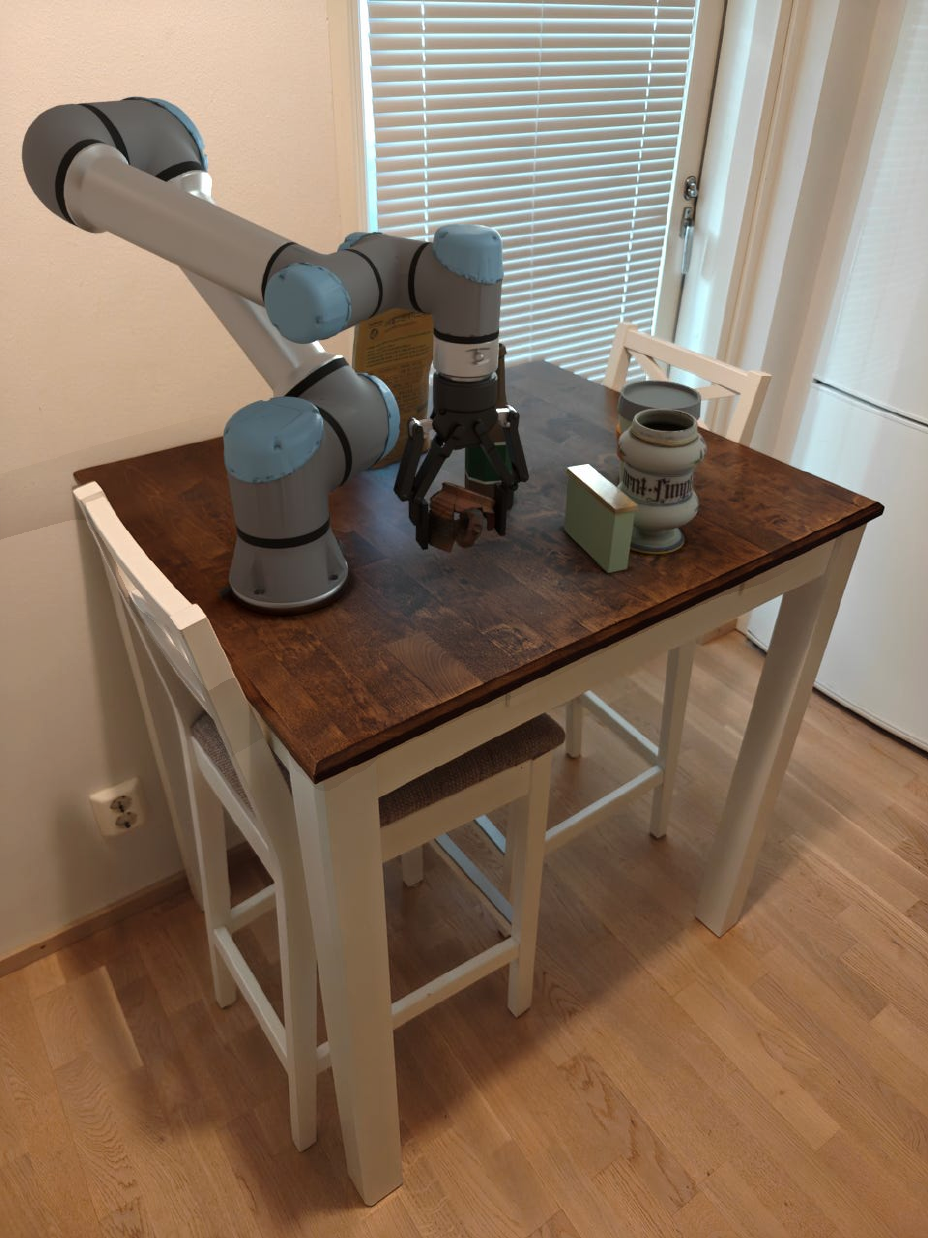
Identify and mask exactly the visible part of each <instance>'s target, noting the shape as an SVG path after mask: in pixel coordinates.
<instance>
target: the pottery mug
mask: <svg viewBox="0 0 928 1238" xmlns="http://www.w3.org/2000/svg"><path fill="white" fill-rule="evenodd" d="M441 486H442V487H441V489H439V490H437V491H436V492H435V493H434V494H433V495H432V496H430V498H429V503H428V507H429V509H428V545H429V546H431V547H433V548H435V549H437V550H441V551H442V552H446V553H449V554H451V553H452V552H453V547H454V545H455V542H456V544H457V545H458V546H459V547H461V548H462V549H467V548H471V547H473V546H475V544H476V542H477V540H478V539H479V538H480V536H481V534H482V532H483V530H484V526H485V520H486V530H487V532H493V531H494V526H495V524H494V523H495V516H494V514H495V512H494V511H493V507H494V504H495V503H496V501H494V500H493V499H491V498H489V497H487V496H485V495H482V494H480V493H477V492H474V491H471V490H469V489H466V488H465V486H464V487H463V486H460V485H458V484H455V483H452V482H448V481H443V482H441ZM455 514H458V518H457V519H455Z"/></svg>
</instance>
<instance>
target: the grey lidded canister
mask: <svg viewBox="0 0 928 1238" xmlns="http://www.w3.org/2000/svg"><path fill="white" fill-rule="evenodd" d="M701 405H702V395H701V394H700V392H699V391H697V390H696V389H695V388H693V387H690V386H688V385H686V384H682V383H679V382H674V381H668V380H659V379H658V380H657V379H655V380H654V379H648V380H647V379H646V380H638V381H633V382H630V383H627V384H625V385H624V386H622V388H621V389H620V393H619V397H618V401H617V405H616V411H617V413H618V423H617V424H616V428H615V429H616V430H615V431H616V432H615V434H616V435H615V437H616V439H615V440H616V442H615V443H616V455H617V458H618V460H619V461H618V462H619V465H618V466H619V484H620V483H621V482H622V480H623V473H624V464H625V460H624V459H623V458H622V456H621V455H620V453H619V450H618V441H619V438H620V436H621V435H622V434H623V432H624V431H625V430H627V429H628V428H630V427H631V425H632V423H633V419H634V417H635V415H636V414H638V413H639V412H642V411H644V410H648V409H673V410H679V411H683V412H686V413H688V414H690V415H692V416H693V417H695V418H696V420H697V421H699V420H700V417H701V409H702V408H701V407H702V406H701Z"/></svg>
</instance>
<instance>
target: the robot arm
mask: <svg viewBox="0 0 928 1238" xmlns="http://www.w3.org/2000/svg"><path fill="white" fill-rule="evenodd" d="M205 147H206V145H205V142H204V139H203V136H202V135H201V133H200V131H199V129H198V128H197V126H196V124H195V123H194V122H193V120H192V119H191V118H190V116H188V115H187V114H186V113H185V112H184V111H183V110H182V109H181V108H180V107H179V106H177V105H175V104H173V103H171V102H169V101H168V100H164V99H161V98H156V97H145V96H127V97H125V98H122V99H119V100H107V101H94V102H81V103H80V102H79V103H67V104H57V105H55V106H53V107H50V108H48V109H46V110H45V111H43V112H41V113H40V114H39V115H37V117H36V118H34V120H32V122H31V123H30V125H29V126H28V128H27V129H26V132H25V134H24V137H23V141H22V146H21V161H22V167H23V168H22V169H23V172H24V175H25V179H26V181H27V183H28V185H29V187H30V189H31V190H32V192H33V194H34V195H35V196H36V198H37V199H38V200H39V201H40V202H41V204H42V205H43V206H44V207H45V208H46V209H48V210H49V211H50V212H51V213H53V214H54V215H55V216H57V217H58V218H60V219H62V220H63V221H65V222H67V223H68V224H70V225H72V226H74V227H76V228H79V229H80V230H83V231H84V232H87V233H90V234H94V235H95V234H97V235H98V234H103V233H109V234H112V235H113V236H116V237H118V238H120V239H122V240H124V241H125V242H128V243H130V244H132V245H135V246H137V247H138V248H140V249H142V250H145V251H146V252H149V253H151V254H153V255H155V256H156V257H159V258H161V259H163V260H165V261H167V262H169V263H171V264H173V265H175V266H177V267H179V269H180V271H181V272H182V273H183V274H184V276H185V277H186V278H187V280H188V281H189V283H190V284H191V285H192V286H193V288H194V289H195V290H196V292H197V293H198V294H199V295H200V297H201V299H202V300H203V301H204V302H205V303H206V305H207V306H208V308H209V309H210V310H211V311H212V312H213V314H214V315H215V317H216V318H217V320H219V322H220V323H221V325H222V326H223V327H224V328H225V330H226V331H227V332H228V334H229V335H230V336H231V338H232V339H233V340H234V342H235V343H236V345H237V346H238V347H239V348H240V350H241V351H242V352H243V354H244V355H245V356H246V358H247V359H248V360H249V362H250V363H251V364H252V366H253V367H254V369H256V371H257V372H258V373H259V374H260V376H261V377H262V378H263V380H264V382H265V383H266V384H267V385H268V386H269V388H270V389H271V391H272V394H273V396H272V397H270V398H269V399H268V400H263V399H261V400H256V401H254V402H252V403H249V404H246V405H245V406H243V407H241V408H240V409H238V410H237V411H235V412H234V413H233V414H232V415H231V416H230V418H229V419H228V420H227V421H226V423H225V426H224V429H223V433H222V434H223V435H222V439H223V448H224V449H223V463H224V466H225V470H226V475H227V481H228V486H229V493H230V498H231V499H230V500H231V506H232V511H233V512H232V513H233V517H234V521H235V522H234V523H235V531H236V541H235V545H234V550H233V555H232V559H231V564H230V569H229V574H228V582H229V584H228V585H227V586H225V587H223V588H222V589H221V590H219V591H218V595H219V596H220V598H221V599H224V598H226V597H227V596H229V595H230V594H231V596H232V598H233V600H235V602H236V603H238V604H239V605H240V606H241V607H243V608H245V609H247V610H249V611H252V612H254V613H259V614H263V615H270V616H295V615H300V614H306V613H310V612H314V611H316V610H320V609H323V608H325V607H326V606H329V605H331V604H332V603H334V602H335V601H337V600H338V599H339V598H340V597H341V596H343V594H344V593H345V592H346V590H347V588H348V586H349V582H350V581H349V578H350V577H349V567H348V562H347V560H346V558H347V559H348V558H349V555H348V554H349V553H348V547H346V545H345V544H344V543H343V541H342V540H341V539H340V538H338V541H337V539H336V536H335V534H334V532H333V530H332V527H331V519H330V518H331V517H330V507H329V506H330V505H329V496H330V494H331V493H333V492H334V491H335V490H337V489H339V488H340V487H342V486H344V485H345V484H346V483H348V482H349V481H351V480H353V479H354V478H356V477H357V476H359V475H360V474H362V473H364V472H365V471H367V470H371V469H370V468H372V467H374V466H375V465H376V464H377V463H378V462H380V461H381V459H382V458H383V457H385V456H386V455H387V454H388V453H389V452H390V451H391V450H392V449H393V447H394V446H395V444H396V442H397V439H398V436H399V423H400V415H399V409H398V406H397V403H396V400H395V398H394V396H393V394H392V392H391V391H390V390H389V388H388V387H387V386H386V385H385V383H383V382H382V381H381V380H380V379H379V378H377V377H376V376H370V375H368V374H367V373H361V372H360V373H355V371H354V370H353V369H352V365H350V364H349V362H348V360H347V359H346V357H344V355H342V354H338V353H331V352H328V351H326V350H325V349H324V348H323V346H322V345H321V344H320V342H319V341H325V340H329V339H330V338H331V339H332V338H333V337H336V336H337V335H338V334H340V333H342V332H344V331H346V330H349V329H350V328H354V327H355V325H357V324H359V323H361V322H363V321H366V320H368V319H370V318H373V317H375V316H377V315H380V314H382V313H384V312H387V311H389V310H391V309H405V310H410V311H415V312H421V313H430V314H433V327H434V328H433V333H434V335H433V361H432V367H433V369H434V370H435V371H434V372H433V374H432V411H431V414H430V415H429V417H427V419H423V420H418V421H417V420H416V419H415V418H410V419H408V421H407V431H408V438H407V441H406V445H405V449H404V452H403V456H402V459H401V461H400V463H399V467H398V471H397V474H396V476H395V477H396V478H395V482H394V485H393V493H394V494H395V496H396V497H397V498H398V500H399V501H400V502H402V503H405V502H408V519H409V522H410V523H411V524H412V525H413V526H414V527H415V541H416V543H417V544H418V546H419V547H420V549H421V550H422V551H426V550H427V551H428V550H429V544H428V513H429V503H428V501H427V500H426V499H425V497H426V495H427V493H428V491H429V490H430V488H431V486H432V485H433V483H434V481H435V480H436V478H437V476H438V474H439V472H440V470H441V469H442V467H443V465H444V463H445V462H446V460H447V459H449V458H450V456H451V455H452V453H453V452H454V451H461V450H462V449H465V447H470V448H475V447H478V445H479V444H480V446H481V448H482V449H483V451H484V453H485V454H486V456H487V458H488V460H489V461H490V463H491V465H492V466H493V468H494V470H495V471H496V473H497V475H498V477H499V478H500V480H501V483H500V482H495V483H494V496H493V500H494V501H496V503H495V504H494V507H493V511H494V512H495V514H494V516H495V523H494V524H495V526H494V528H493V531H495V532H496V533H497V535H498V536H499V537H504V536H506V532H507V516H508V515H507V514H508V511H509V510H512V509H513V506H514V498H513V496H514V497H515V492H516V491H518V489H519V484H520V483H526V482H528V481H529V479H530V474H529V470H528V465H527V462H526V461H527V460H526V457H525V453H524V448H523V445H522V440H521V436H520V430H519V427H520V418H521V415H520V413H519V412H518V411H517V410H516V409H514V408H513V407H512V406H511V405H510V404H508V405H506V406H505V407H504V408H503V409H496V407H495V403H496V395H497V375H496V373H495V371H496V370H497V368H498V351H499V343H500V320H501V319H500V318H501V304H502V303H501V302H502V287H503V280H504V276H505V273H504V267H503V265H504V264H503V259H504V258H503V239H502V237H501V234H500V233H499V232H498V231H497V230H496V229H494V228H492V227H489V226H487V225H481V224H475V223H473V224H466V223H453V224H445V225H443V226H440V227H439V228H437V229H436V230H435V231H434V235H433V241H426V240H419V239H414V238H407V237H401V236H397V235H390V234H386V233H383V232H381V231H372V232H364V231H355V232H351V233H349V234H348V235H346V236H345V237H344V241H343V242H342V243H340V244H339V246H338V248H337V250H336V251H335V252H331V253H328V254H325V253H321V252H318V251H315V250H314V249H311V248H309V247H307V246H304V245H302V244H301V243H297V242H296V241H294V240H292V239H290V238H287V237H286V236H283V235H281V234H278V233H276V232H275V231H272V230H270V229H268V228H266V227H263V226H262V225H259V224H257V223H255V222H253V221H251V220H248V219H246V218H244V217H242V216H240V215H238V214H236V213H233V212H231V211H229V210H228V209H225V208H223V207H221V206H218V205H217V204H216V203H215V201H214V200H213V198H212V197H211V195H212V188H213V187H212V186H213V180H212V177H211V175H210V174H209V173H208V170H209V159H208V155H207V154H205V152H204V149H205ZM497 420H498V422H499V424H500V425H501V426H502V430H503V434H504V438H505V442H506V446H507V450H508V455H509V459H510V463H511V467H512V471H511V472H510V471H509V470H508V468H507V466H506V464H505V463H504V461H503V459H502V457H501V456H500V454H499V452H498V451H497V449H496V447H495V444H494V442H493V441H492V439H491V437H490V435H489V432H490V431H491V429H492V428H493V426H494V425H495V423H496V422H497ZM431 430H433V431H434V432H435V435H434V437H433V438H432V441H431V442H430V448H429V450H428V451H427V454H426V456H425V458H424V459H423V461H422V463H421V465H420V467H419V464H420V460H421V457H422V453H423V452H422V450H423V446H424V439H427V437H428V432H429V433H430V431H431ZM418 468H419V469H418ZM344 555H345V556H346V558H345V556H344Z"/></svg>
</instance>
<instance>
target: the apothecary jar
mask: <svg viewBox="0 0 928 1238" xmlns="http://www.w3.org/2000/svg"><path fill="white" fill-rule="evenodd" d="M698 427H699V426H698V420H696V418H695V417H693V416H692V415H690V414H688V413H686V412H683V411H679V410H673V409H648V410H644V411H642V412H639V413H638V414H636V415H635V417H634V419H633V423H632V425H631V427H630V428H628V429H627V430H625V431H624V432H623V434H622V435H621V436H620V438H619V441H618V450H619V453H620V455H621V456H622V458H623V459H624V460H625V464H624V473H623V480H622V482H621V483H620V482H619V484H618V485H617V486H616V487H617V488H618V489H619V490H620V491H622V492H623V493H624V494H625V495H626V496H628V497H629V498H630V499H631V500H632V501H634V502H635V503H636V504H637V505H638V509H637V510H636V511H635V514H634V521H633V529H632V536H631V543H630V551H633V552H637V553H641V554H645V555H646V554H647V555H666V554H670V553H674V552H676V551H679V549H680V548H682V546H683V545H684V544H685V536H684V533H683V532H682V530H681V529H680V528H681V527H683V526H685V525H687V524H688V523H689V522H691V521H692V520H694V518H695V517H696V515H697V513H698V511H699V508H700V507H699V505H700V504H699V503H700V502H699V497H698V495H697V493H696V492H695V490H694V489H693V482H694V474H695V468H696V467H698V466H699V465H701V463H702V462H703V461H704V460H705V458H706V455H707V451H708V449H707V448H708V447H707V443H706V441H705V439H704V437H703V436H702V435H701V433H699V432H698V431H699V430H698Z"/></svg>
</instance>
